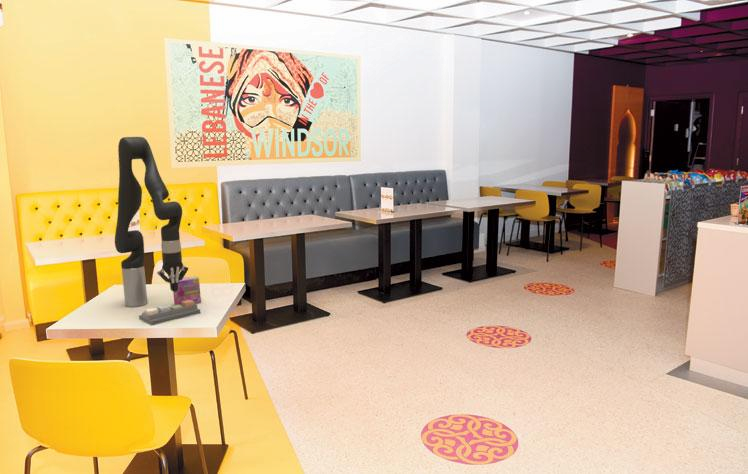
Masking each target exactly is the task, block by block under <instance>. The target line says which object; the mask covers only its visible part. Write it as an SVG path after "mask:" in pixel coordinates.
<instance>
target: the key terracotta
mask: <svg viewBox="0 0 748 474" xmlns="http://www.w3.org/2000/svg"><path fill="white" fill-rule="evenodd" d="M181 304H182V306H184V307H187V306H191V305H194V301H192V300H186V301H181Z"/></svg>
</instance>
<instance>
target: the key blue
mask: <svg viewBox="0 0 748 474" xmlns="http://www.w3.org/2000/svg"><path fill="white" fill-rule="evenodd" d="M170 306H171V305H167V304H165V305H164V304H163V305H159V306H157V307H156V309H158V311H159V312H166V311H170V310H171V309H170Z"/></svg>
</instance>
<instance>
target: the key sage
mask: <svg viewBox="0 0 748 474" xmlns="http://www.w3.org/2000/svg"><path fill="white" fill-rule="evenodd" d="M169 306H170V308H171V309H173V310H174V309H178V308H183V307H182V306H181V305H175V304H174V305H169Z"/></svg>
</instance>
